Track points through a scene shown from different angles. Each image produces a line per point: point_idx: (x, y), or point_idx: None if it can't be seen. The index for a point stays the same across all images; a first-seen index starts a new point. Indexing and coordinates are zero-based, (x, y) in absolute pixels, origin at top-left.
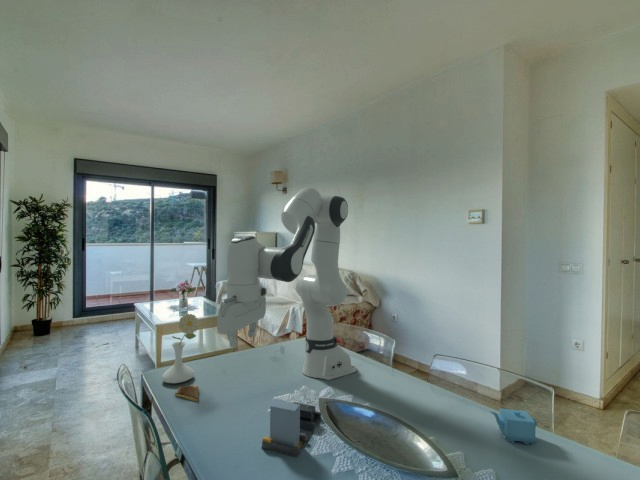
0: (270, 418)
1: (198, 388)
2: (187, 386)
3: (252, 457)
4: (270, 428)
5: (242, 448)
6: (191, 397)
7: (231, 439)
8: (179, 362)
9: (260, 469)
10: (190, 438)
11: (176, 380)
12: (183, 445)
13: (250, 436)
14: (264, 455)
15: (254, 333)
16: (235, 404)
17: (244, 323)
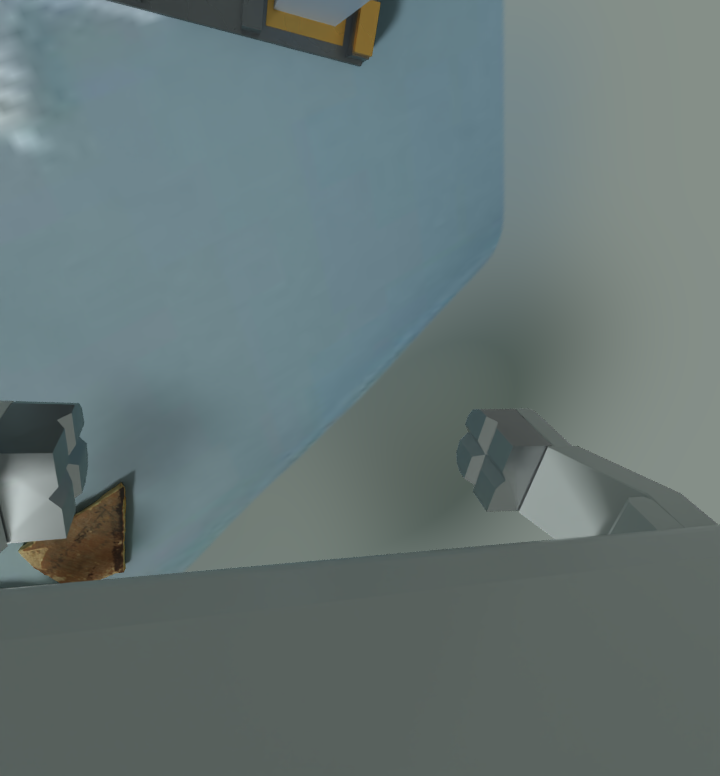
0: (366, 2)
1: None
2: (55, 574)
3: (416, 87)
4: (351, 12)
5: (371, 155)
6: (123, 513)
7: (326, 226)
8: None
9: (478, 23)
10: (349, 365)
11: None
12: (386, 363)
13: (290, 153)
14: (399, 34)
15: (10, 422)
16: (69, 337)
17: (608, 606)
